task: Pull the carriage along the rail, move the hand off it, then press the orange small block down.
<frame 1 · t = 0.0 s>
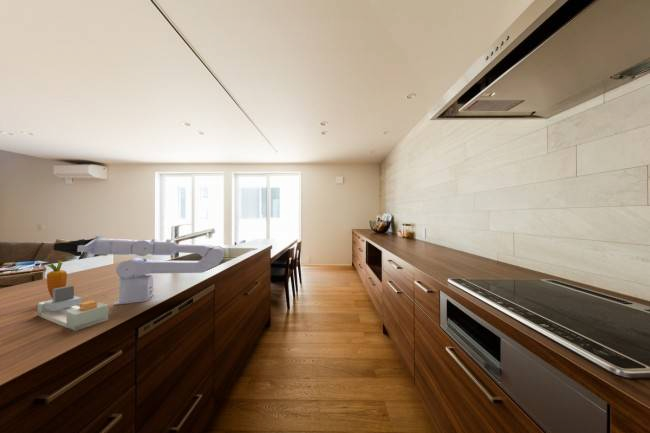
hand: (63, 245, 74), 22 cm above the worktop, tool horizontal, fingers open, 7 cm apart
orange small block: (88, 309, 63), point 4 cm above the worktop, slide at 0.0 cm
carrot: (56, 301, 80), on the worktop
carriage: (63, 296, 69), point 6 cm above the worktop, slide at -6.0 cm
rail: (72, 317, 67), on the worktop
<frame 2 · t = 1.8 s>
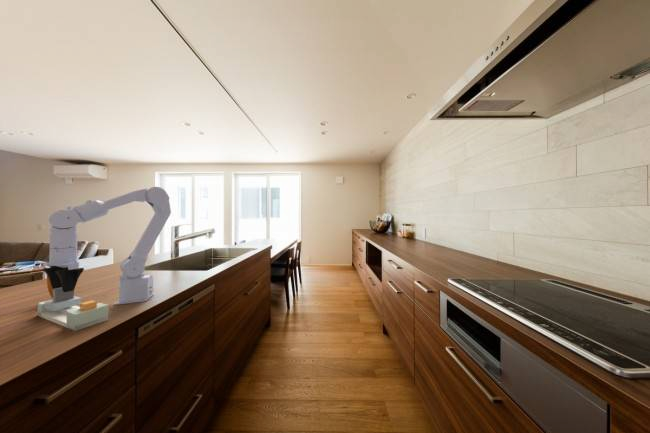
hand: (63, 289, 69), 8 cm above the worktop, tool pointing down, fingers open, 7 cm apart
nothing on the worktop moved.
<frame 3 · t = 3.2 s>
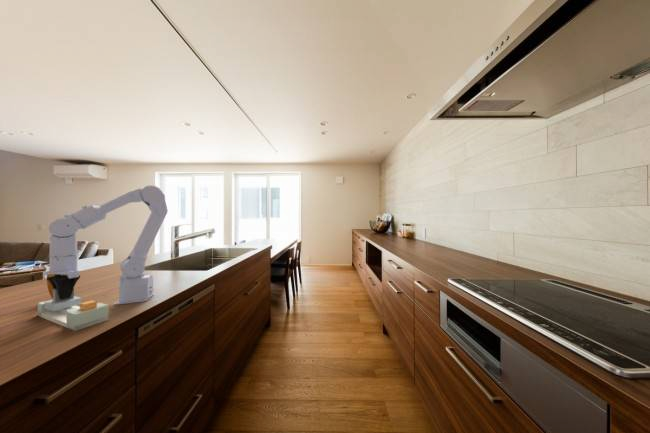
hand: (63, 297, 69), 5 cm above the worktop, tool pointing down, fingers closed on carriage, 2 cm apart
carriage: (63, 296, 69), point 6 cm above the worktop, slide at -6.0 cm, touching gripper
everything else where it was.
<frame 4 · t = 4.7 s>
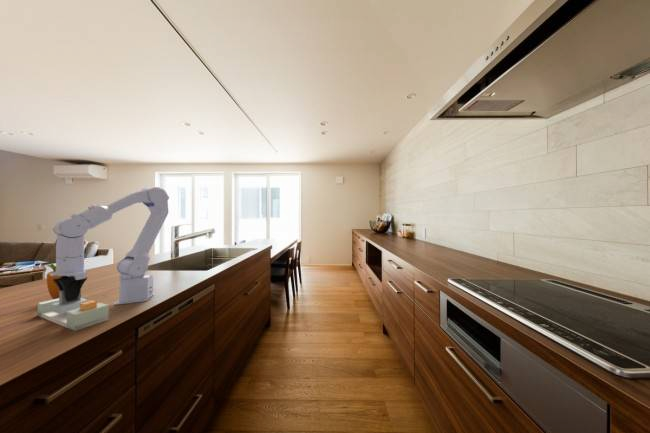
hand: (70, 299, 67), 5 cm above the worktop, tool pointing down, fingers closed on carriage, 2 cm apart
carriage: (70, 298, 67), point 6 cm above the worktop, slide at -1.4 cm, touching gripper
everything else where it was.
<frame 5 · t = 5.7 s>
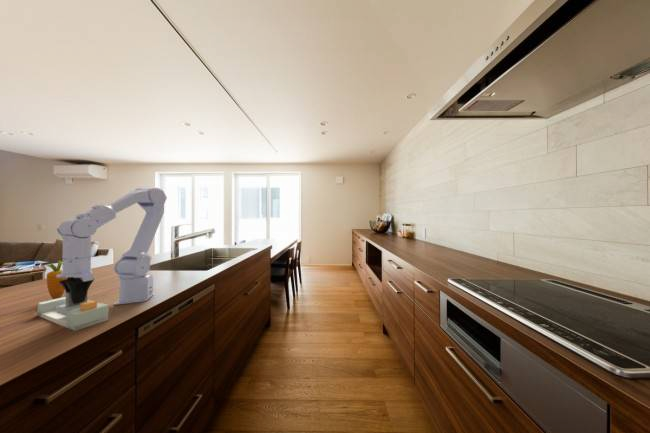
hand: (76, 301, 66), 5 cm above the worktop, tool pointing down, fingers closed on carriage, 2 cm apart
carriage: (76, 300, 66), point 6 cm above the worktop, slide at 2.9 cm, touching gripper
everything else where it was.
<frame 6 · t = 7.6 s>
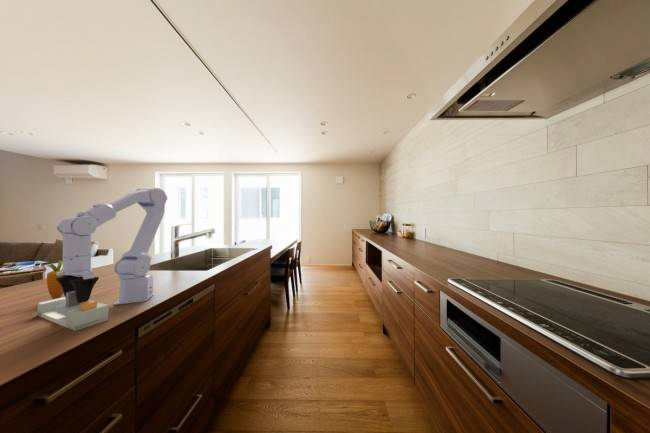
hand: (77, 299, 66), 6 cm above the worktop, tool pointing down, fingers open, 7 cm apart
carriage: (76, 300, 66), point 6 cm above the worktop, slide at 3.0 cm
everything else where it was.
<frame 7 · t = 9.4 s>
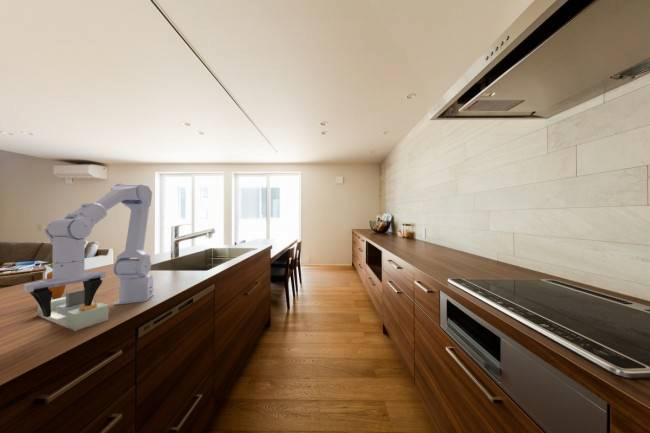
hand: (68, 310, 59), 5 cm above the worktop, tool pointing down, fingers open, 7 cm apart
orange small block: (88, 311, 63), point 3 cm above the worktop, slide at 0.7 cm, touching gripper
everything else where it was.
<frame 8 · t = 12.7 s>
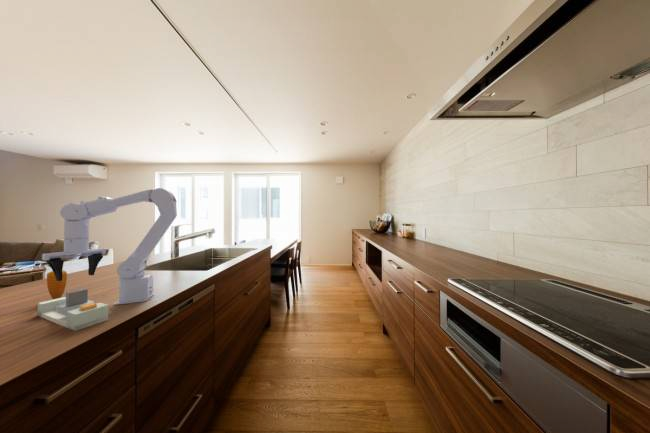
hand: (76, 277, 75), 10 cm above the worktop, tool pointing down, fingers open, 7 cm apart
orange small block: (88, 311, 63), point 3 cm above the worktop, slide at 0.7 cm
everything else where it was.
at the end: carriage slide at 3.0 cm; orange small block slide at 0.7 cm; the gripper is holding nothing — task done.
